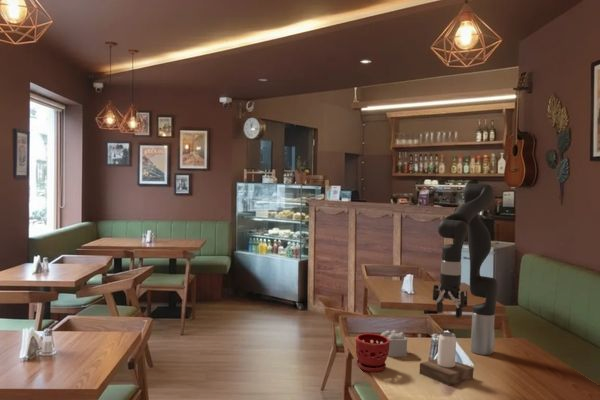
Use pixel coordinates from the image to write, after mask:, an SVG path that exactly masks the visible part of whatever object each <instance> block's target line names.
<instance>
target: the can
mask: <svg viewBox="0 0 600 400" xmlns="http://www.w3.org/2000/svg"><path fill="white" fill-rule="evenodd" d="M456 337H457V336H456V334H455V333H453V332H449V331H442V332H440V333H439V336H438V344H437V345H438V349H437V359H438V365H439V366H441V367H445V368H452V367H454V366H455V362H456V354H457V338H456Z"/></svg>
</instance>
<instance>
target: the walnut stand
mask: <svg viewBox="0 0 600 400" xmlns="http://www.w3.org/2000/svg"><path fill="white" fill-rule="evenodd" d="M419 375H422V376H424V377H427V378H430V379H432V380H434V381H437V382H440V383H441V384H444V385H446V386H452V385H453V386H454V385H456V384H459V383H463V382H466V381H469V380H472V379H474V367H472V366H469V365H466V364H463V363H461V362H457V361H455V366H454V367H452V368H445V367H441V366H439V365H438V358H436V359H431V360H428V361H423V362H420V363H419Z"/></svg>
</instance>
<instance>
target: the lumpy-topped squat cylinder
mask: <svg viewBox="0 0 600 400" xmlns="http://www.w3.org/2000/svg"><path fill="white" fill-rule="evenodd" d="M380 335H382V336H385V337H387V338H388V339H389V341H390V344H389V352H388V356H387V358H388V357H389V358H396V357H399V358H405V357H407V355H408V354H407V351H408V350H407V349H408V338H407V336H406V334H405V333H404V332H402V331H401V332H398V331H397V330H395V329H392V330H391V331H390V330H389V329H388V330H386V331H384V332H381V334H380ZM382 343H383V342H382V341H381V342H380V344H382Z"/></svg>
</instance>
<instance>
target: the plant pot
mask: <svg viewBox="0 0 600 400" xmlns="http://www.w3.org/2000/svg"><path fill="white" fill-rule="evenodd" d="M371 341H373V342H371ZM381 341H382V342H383V343H382V344H380V342H381ZM389 344H390V341H389V339H388V338H387V337H385V336H382V335H381V334H378V333H370V332H369V333H361V334H358V335H357V336H356V337H355V354H356V358H357V359H356V361H355V364H356V366H357V367H358V368H359V369H361V370H363V371H366V372H373V373H374V372H380V371H383V370H384V369H386V366H387V364H386V361H387V359H388V352H389Z"/></svg>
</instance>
